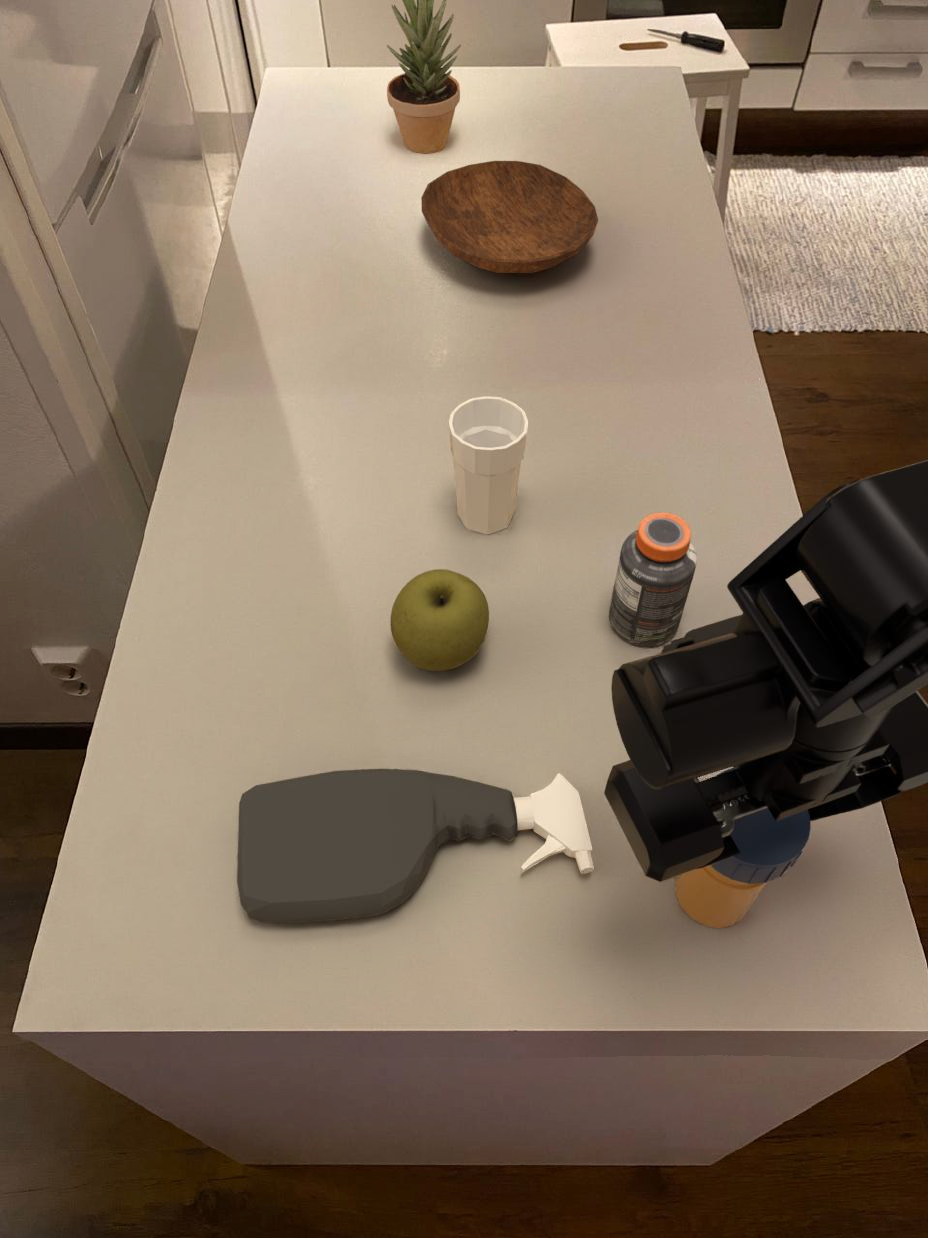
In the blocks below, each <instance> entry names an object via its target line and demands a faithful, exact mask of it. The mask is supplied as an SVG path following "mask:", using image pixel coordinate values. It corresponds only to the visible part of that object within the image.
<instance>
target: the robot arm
mask: <svg viewBox="0 0 928 1238" xmlns="http://www.w3.org/2000/svg"><path fill="white" fill-rule="evenodd" d="M798 572H799V573H800V572H801V573H802V575H803V576H804V577H805V579H806V580H807V582H808V584H810V586H811V587H812V589H813V590H814V592H815V593H816V594H817V596H818V598H815V599H813V600H810V601H808V602H807V603H805V604H803V603H802V601H801V600H800V598H799V597H798V595H797V594H796V593H795V591H794V590H793V588H792V587H791V585H790V584H789V582H788V581H787V579H789V578H791V577H793V576H794V575H796V574H797V573H798ZM726 588H727V590H728V591H729V593H730V595H731V596H732V598H733V599H734V601H735V603H736V604H737V606H738V607H739V609H740V610H741V612H742V614H739V615H735V616H732V617H729V618H725V619H721V620H719V621H716V622H713V623H710V624H707V625H703V626H699V627H697V628H693V629H690V630H689V631H687V632H686V633H685V635H684V636H682V637H679V638H677V639H673V640H671V641H670V643H668V644H665V645H664V646H663V648H662V650H661V652H660V653H657V654H654V655H650V656H646V657H643V658H640V659H636V660H632V661H629V662H626V663H622V664H621V665H620V666H619V667H618V668H617V669H615V670H613V673H612V677H611V687H610V688H611V702H612V708H613V713H614V718H615V722H616V726H617V729H618V732H619V736H620V739H621V741H622V744H623V746H624V750H625V751H626V754H627V756H628V758H629V760H626V761H622V762H620V763H617V764H614V765H612V768H611V770H610V771H609V775H608V777H607V780H606V784H605V788H604V792H603V794H604V796H605V798H606V800H607V802H608V804H609V807H610V808H611V810H612V812H613V814H614V816H615V818H616V820H617V822H618V824H619V826H620V828H621V830H622V832H623V834H624V836H625V838H626V840H627V842H628V844H629V846H630V848H631V850H632V852H633V854H634V856H635V858H636V860H637V863H638V864H639V866H640V868H641V870H642V872H643V874H644V876H645V877H647V878H649V879H651V880H654V881H657V882H658V883H661V882H664V881H667V880H670V879H673V878H676V876H678V875H681V874H683V873H686V872H689V871H691V870H694V869H700V868H703V867H706V866H709V865H711V864H714V863H717V862H720V861H722V860H725V859H728V858H730V857H733V856H736V855H738V854H740V851H739V849H738V848H737V846H736V844H735V842H734V841H733V839H732V837H731V835H730V834H731V833H732V831H733V828H734V820H737V819H740V818H742V817H745V816H748V815H751V814H753V813H756V812H759V811H761V810H764V809H767V808H768V809H769V811H770V813H771V814H772V816H773V818H774V819H775V821H777V820H780V819H783V818H786V817H788V816H791V815H794V814H797V813H799V812H802V811H805V810H807V809H808V812H809V815H810V822H813V821H818V820H821V819H825V818H829V817H833V816H837V815H840V814H846V813H849V812H854V811H857V810H861V809H862V810H863V809H865V808H867V807H870V806H873V805H875V804H878V803H880V802H883V801H885V800H888V799H891V798H894V797H896V796H898V795H900V794H901V792H906V791H909V790H911V789H914V788H917V787H919V786H922V785H925V784H927V783H928V702H927V701H926V700H925V698H924V697H923V696H922V694H920V692H919V691H920V690H921V689H922V688H925V687H926V686H928V459H925V460H922V461H919V462H918V461H917V462H915V463H912V464H908V465H905V466H901V467H897V468H893V469H890V470H887V471H883V472H879V473H876V474H872V475H869V476H867V477H863V478H857V479H853V480H851V481H848V482H845V483H843V484H842V485H840V486H838V487H836V488H834V489H832V490H831V491H830V492H829V493H827V494H826V495H825V496H823V497H822V498H820V500H819V501H818V502H816V503H815V504H814V505H813V506H812V507H811V508H809V510H807V511H806V512H805V513H804V514H803V515H802V516H801V517H799V519H797V520H796V521H795V522H794V523H793V524H791V526H790V527H789V528H788V529H787V530H785V531H784V532H783V533H782V534H781V535H780V536H779V537H778V538H776V539H775V540H774V541H773V542H772V543H771V544H770V545H769V546H768V547H767V548H765V549H764V550H763V551H762V552H761V553H760V554H758V556H757V557H755V558H754V559H753V560H752V561H751V562H750V563H749V564H747V566H745V568H744V569H742V570H741V571H740V572H739V573H738V574H736V576H734V577H733V578H732V579H731V580H730V581H729V582H728V583H727V585H726ZM891 766H892V767H891ZM731 768H734V770H731V771H729V772H726V773H723V774H720V773H719V774H720V775H718V774H717V775H715V776H712V777H708V778H706V779H703V780H700V779H699V778H701V777H703V776H707V775H710V774H713V773H714V774H715V773H717V772H719V771H723V770H728V769H731ZM892 768H893V769H894V770H893V769H892ZM894 771H895V772H894ZM746 795H747V798H745V797H744V796H746ZM740 797H741V798H740ZM737 798H740V800H739V799H737ZM732 800H734V803H733V802H732ZM726 802H727V805H728V806H727V805H726V804H725V803H726Z"/></svg>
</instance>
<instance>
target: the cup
mask: <svg viewBox="0 0 928 1238" xmlns="http://www.w3.org/2000/svg"><path fill="white" fill-rule="evenodd" d="M528 426H529V420H528V418H527V414H526V411H525V410H524V409H522V408H521V407H520V406H519V405H517V404H516V402H513V401H510V400H509V399H506V398H504V397H499V396H488V395H487V396H479V397H478V396H477V397H471V398H470V399H467V400H466V401H463V402H462V403H460V404H458V405H457V407H455V409H453V410H452V412H450V415H449V421H448V431H449V443H450V452H451V456H452V460H453V471H454V473H453V474H454V482H455V484H454V485H455V495H456V507H457V508H456V510H457V516H458V518H459V519H460V521H461V522H462V524H463V526H464V527H465V529H466V530H468V531H473V532H476V533H479V534H483V535H486V536H487V535H491V534H494V533H497V532H499V531H503V530H506V529H508V528H509V526H510V523H511V521H512V519H513V517H514V515H515V511H516V510H515V509H516V500H517V493H518V485H519V479H520V472H521V465H522V461H523V460H524V459H525V458H524V457H525V451H526V450H525V449H526V444H527V443H526V442H527V435H528Z"/></svg>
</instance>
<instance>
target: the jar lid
mask: <svg viewBox="0 0 928 1238" xmlns="http://www.w3.org/2000/svg"><path fill="white" fill-rule="evenodd" d="M731 770H734V768H733V767H730V768H727V769H724V771H723V770H722V771H721V772H720V773H718V774H717V775H720V774H723V773H726V772H729V771H731ZM744 797H745V798H747V795H746V796H744ZM740 798H741V797H740ZM740 798H737V799H739V800H740ZM732 802H733V803H734V800H732ZM725 804H726V805H727V802H726V803H725ZM727 806H728V805H727ZM811 823H812V821H810V815H809V812H808V809H807V810H805V811H802V812H799V813H797V814H794V815H791V816H788V817H786V818H783V819H780V820H777V821H775V819H774V818H773V816H772V814H771V813H770V811H769V809H768V808H767V809H764V810H761V811H759V812H756V813H753V814H751V815H748V816H745V817H742V818H740V819H737V820H734V828H733V831H732V833H731V834H730V835H731V837H732V839H733V841H734V842H735V844H736V846H737V848H738V849H739V851H740V854H738V855H736V856H733V857H730V858H728V859H725V860H722V861H720V862H717V863H714V864H711V865H710V866H711V867H713V868H714V869H715V870H716V871H718V872H719V873H721V874H722V875H724V876H726V877H728V878H730V879H731V880H735V881H738V882H743V883H748V884H756V883H766V884H768V883H769V882H772V881H775V880H776V879H779V878H782V877H783V876H784V874H786V872H787V871H789V869H790V868H793V866H794V865H795V864H796V862H797V861H798V859H799V858H800V857H801V855H802V854H803V850H804V848H805V846H806V845H807V844H808V841H809V838H810V835H811V828H812V827H811V825H812V824H811Z"/></svg>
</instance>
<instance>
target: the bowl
mask: <svg viewBox="0 0 928 1238" xmlns="http://www.w3.org/2000/svg"><path fill="white" fill-rule="evenodd" d="M421 195H422V196H421V198H420V199H421V214H422V215H423V218H424V219H425V222H426V223H427V225H428V227H429V228H430V230H431V231H432V233H433V235H434V237H435V238H436V240H437V242H438V243H440V245H442V246H443V247H444V248H445V249H447V250H448V251H449V252H450V253H451V254H452V255H453V256H454V257H456V258H459V259H461V260H462V261H464V262H466V263H469V264H470V265H472V266H474V267H476V268H479V269H482V270H486V271H489V272H492V273H496V274H533V273H537V272H541V271H545V270H547V269H548V270H549V269H552V268H553V267H555V266H557V265H559V264H561V263H562V262H564V261H565V260H567V259H569V258H571V257H573V256H574V255H576V254H577V253H578V252H579V251H580V250H581V249H582V248H583V247H585V246H586V245H587V243H589V241H590V240H591V239H592V237H593V236H594V235H595V233H596V232H595V231H596V230H597V226H598V223H599V217H598V213H597V209H596V206H595V204H593V202H592V201H591V199H590V198H589V197H588V195H587V194H586V193H585V191H584V190H583V189H581V188H580V187H579V186H578V185H577V184H575V182H573V181H572V180H571V179H569V178H568V177H567V176H565V175H563V174H560V173H559V172H557V171H554V170H552V169H550V168H548V167H545V166H543V165H542V164H537V163H532V162H526V161H521V160H491V161H490V160H489V161H484V162H479V163H478V162H477V163H471V164H467V165H464V166H461V167H458V168H455V169H452V170H448V171H446V172H444V173H443V174H441V175H440V176H437V178H435V179H433V180H432V181H430V182H429V183H427V185H426V187H425V189H424V191H423V194H421Z"/></svg>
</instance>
